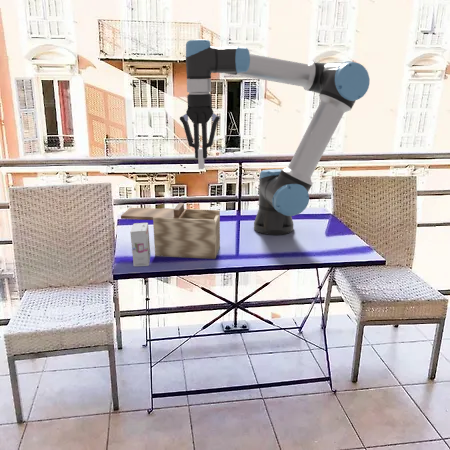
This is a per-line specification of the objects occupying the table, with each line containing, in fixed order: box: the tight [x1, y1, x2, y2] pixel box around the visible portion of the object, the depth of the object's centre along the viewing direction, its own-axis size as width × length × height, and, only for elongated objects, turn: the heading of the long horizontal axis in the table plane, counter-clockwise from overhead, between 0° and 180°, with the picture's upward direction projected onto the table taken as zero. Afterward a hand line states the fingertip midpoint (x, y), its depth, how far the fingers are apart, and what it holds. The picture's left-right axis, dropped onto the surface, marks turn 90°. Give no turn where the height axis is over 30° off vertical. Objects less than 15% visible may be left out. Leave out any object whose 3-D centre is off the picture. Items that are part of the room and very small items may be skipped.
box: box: [152, 207, 221, 260], centre depth 153 cm, size 20×11×13 cm, turn 83°
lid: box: [120, 202, 186, 221], centre depth 153 cm, size 20×10×4 cm, turn 83°
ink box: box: [130, 222, 152, 267], centre depth 146 cm, size 9×5×12 cm, turn 5°
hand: (201, 168), depth 151 cm, fingers closed
